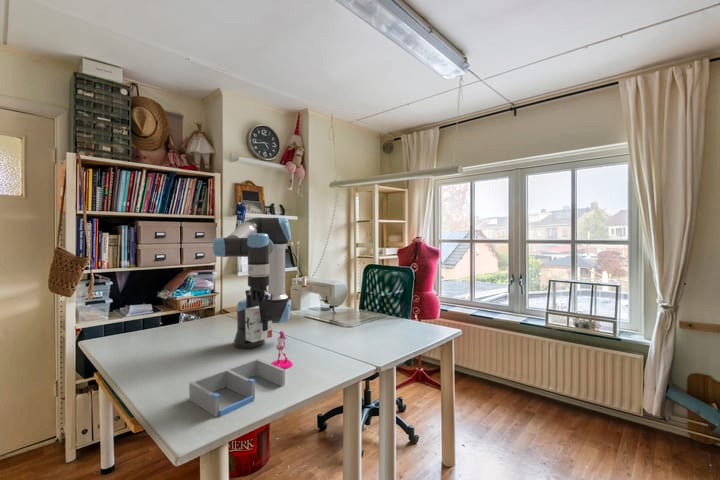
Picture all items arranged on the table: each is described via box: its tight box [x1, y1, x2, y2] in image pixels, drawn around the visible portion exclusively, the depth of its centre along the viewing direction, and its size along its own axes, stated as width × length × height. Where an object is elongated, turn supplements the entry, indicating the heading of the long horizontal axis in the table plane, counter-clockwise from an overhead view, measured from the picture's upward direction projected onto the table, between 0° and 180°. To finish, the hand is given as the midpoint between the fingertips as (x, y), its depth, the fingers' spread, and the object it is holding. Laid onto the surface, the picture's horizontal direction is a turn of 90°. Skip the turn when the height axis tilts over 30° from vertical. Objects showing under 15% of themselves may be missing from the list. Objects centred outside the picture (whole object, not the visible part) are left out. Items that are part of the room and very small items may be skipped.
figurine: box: [270, 330, 294, 370], centre depth 147 cm, size 10×10×15 cm
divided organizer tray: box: [188, 358, 286, 417], centre depth 123 cm, size 18×28×7 cm, turn 142°
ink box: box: [245, 306, 273, 342], centre depth 126 cm, size 8×5×12 cm, turn 140°
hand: (259, 337), depth 126 cm, fingers closed on ink box, 5 cm apart
